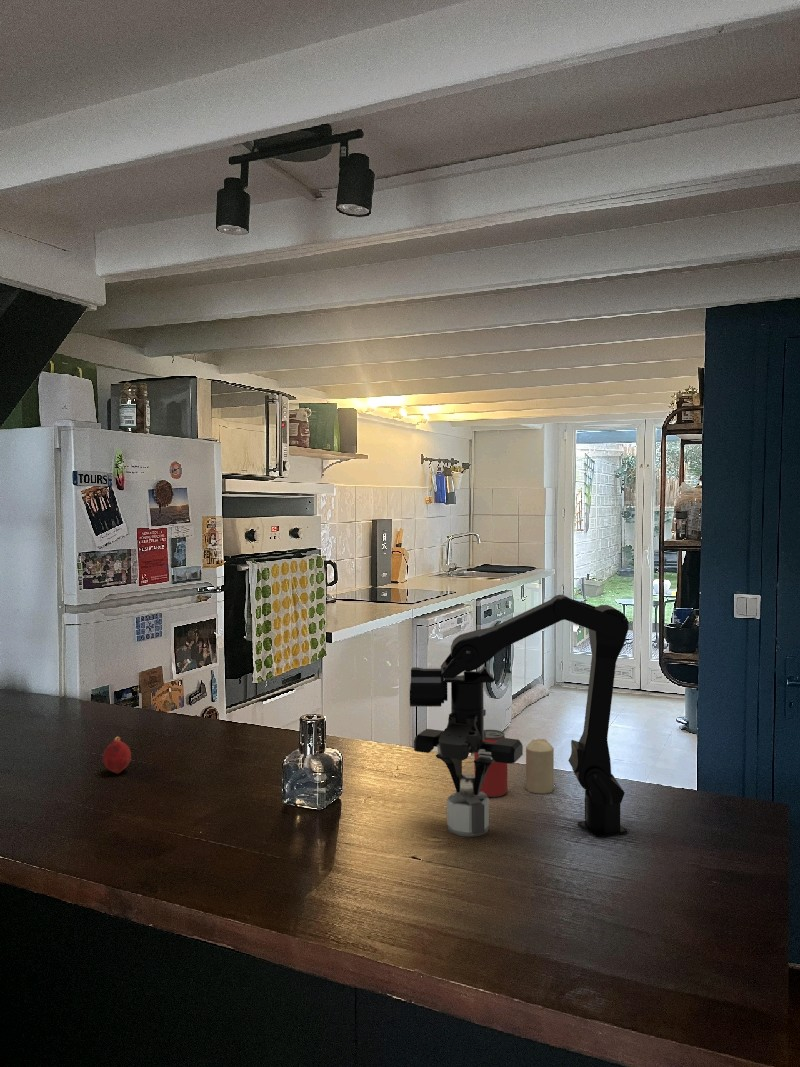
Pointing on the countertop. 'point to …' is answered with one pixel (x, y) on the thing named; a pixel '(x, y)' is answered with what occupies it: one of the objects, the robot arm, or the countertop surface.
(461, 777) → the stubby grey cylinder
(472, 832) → the grey faceted drum
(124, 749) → the onion
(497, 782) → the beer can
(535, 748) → the candle
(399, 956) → the countertop surface
